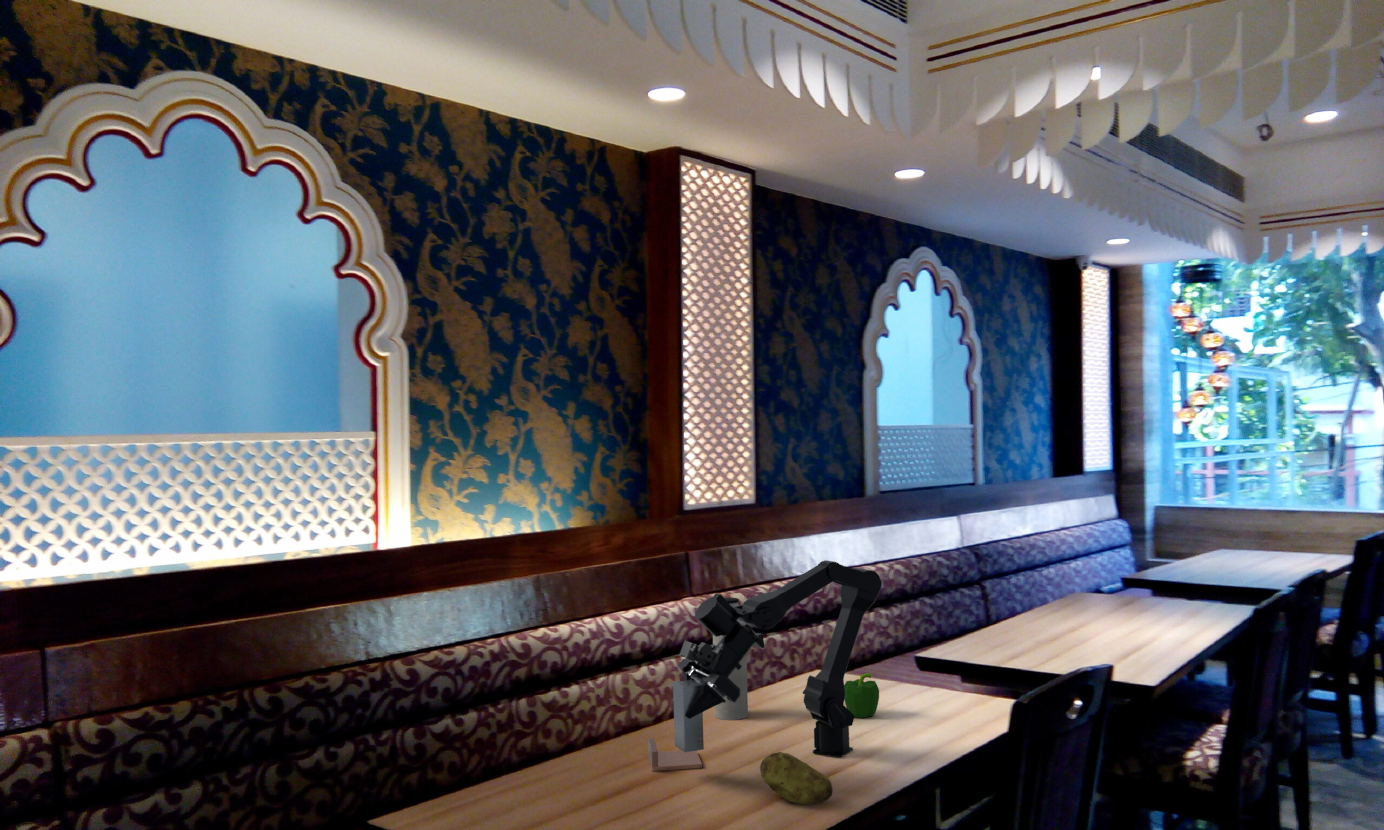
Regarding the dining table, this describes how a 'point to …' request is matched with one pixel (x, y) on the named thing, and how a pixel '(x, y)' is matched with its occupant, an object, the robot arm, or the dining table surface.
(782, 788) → the potato
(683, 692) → the block
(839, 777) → the dining table surface
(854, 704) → the bell pepper
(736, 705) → the thermos bottle
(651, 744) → the plate
